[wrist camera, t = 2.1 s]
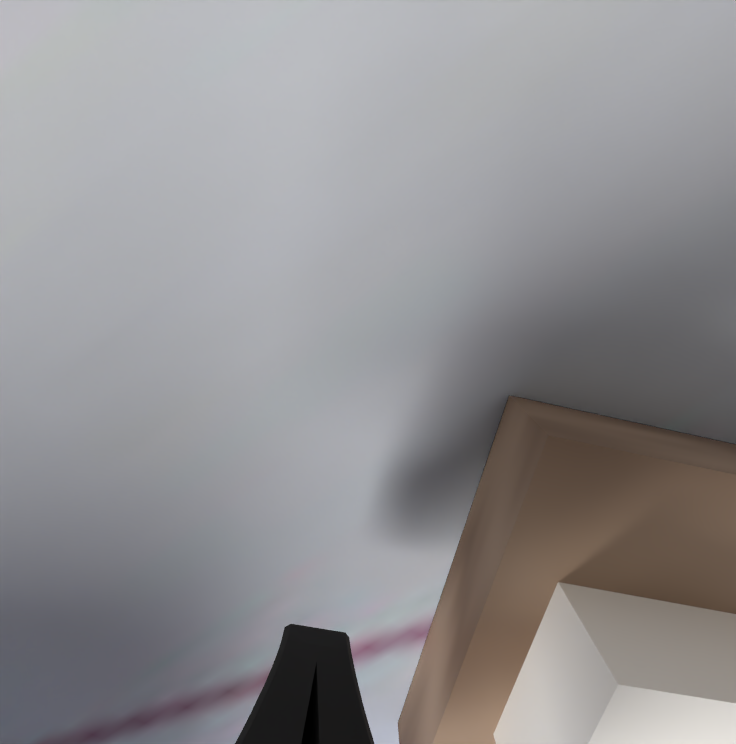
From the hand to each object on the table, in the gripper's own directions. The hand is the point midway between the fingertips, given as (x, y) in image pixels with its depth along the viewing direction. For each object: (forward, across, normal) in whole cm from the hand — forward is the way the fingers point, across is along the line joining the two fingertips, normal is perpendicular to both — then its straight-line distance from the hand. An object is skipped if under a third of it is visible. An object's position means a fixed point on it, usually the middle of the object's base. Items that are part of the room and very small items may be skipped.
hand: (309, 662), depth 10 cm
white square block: (+1, -8, 0) cm, 8 cm away
